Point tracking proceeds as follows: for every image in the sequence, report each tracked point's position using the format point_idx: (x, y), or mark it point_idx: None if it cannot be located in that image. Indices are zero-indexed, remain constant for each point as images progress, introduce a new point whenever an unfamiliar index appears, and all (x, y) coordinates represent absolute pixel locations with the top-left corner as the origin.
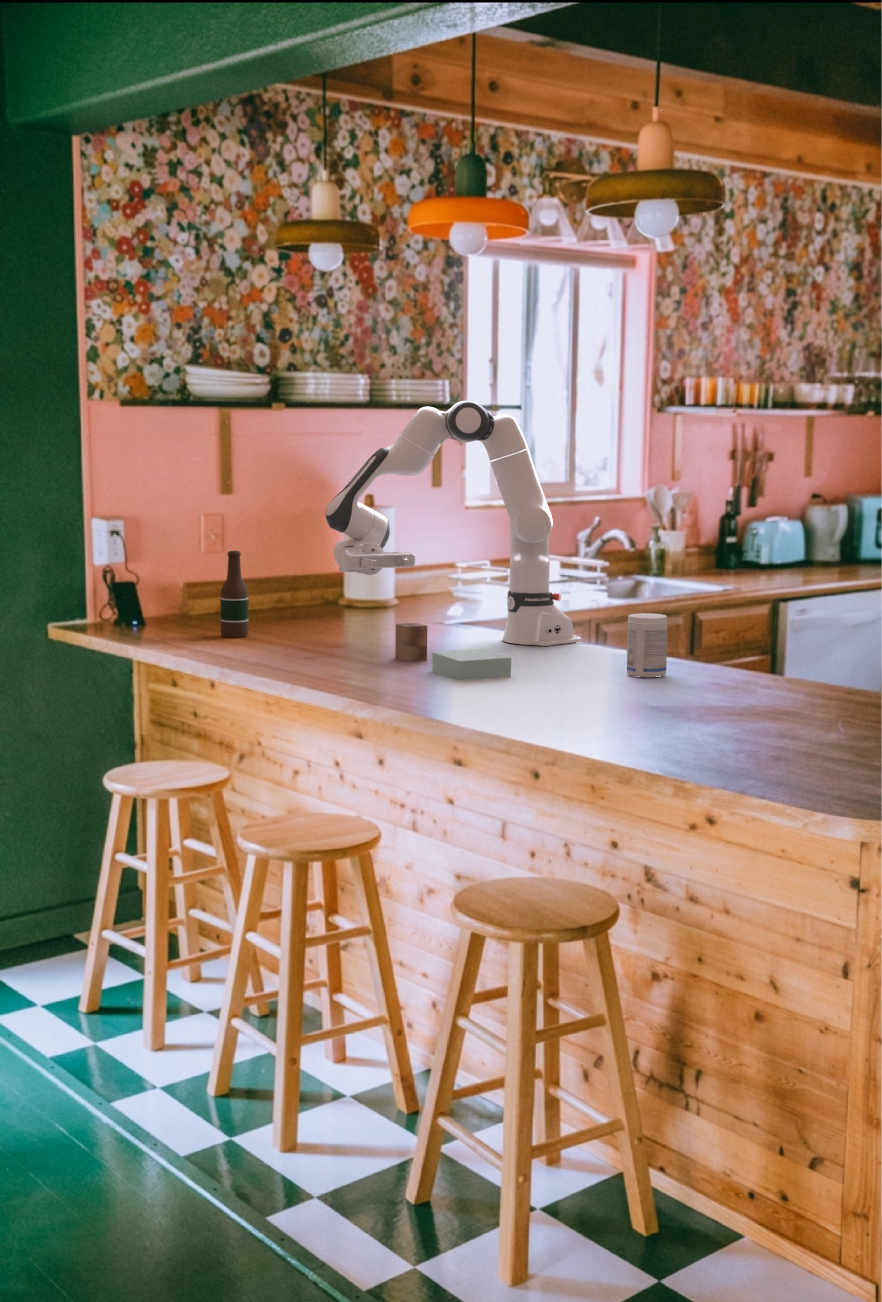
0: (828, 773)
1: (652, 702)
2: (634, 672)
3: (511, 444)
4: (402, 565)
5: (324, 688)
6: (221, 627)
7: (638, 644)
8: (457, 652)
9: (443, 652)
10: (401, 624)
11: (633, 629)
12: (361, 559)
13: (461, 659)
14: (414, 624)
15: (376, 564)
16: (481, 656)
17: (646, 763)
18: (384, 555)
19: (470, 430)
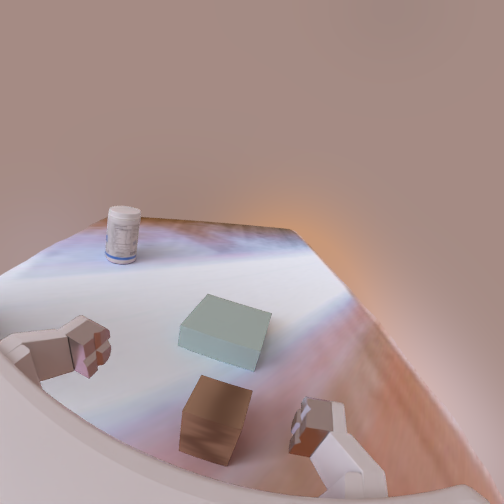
0: (262, 229)
1: (209, 252)
2: (135, 257)
3: None
4: (97, 369)
5: (403, 369)
6: None
7: (138, 233)
8: (232, 333)
9: (248, 342)
10: (237, 415)
11: (138, 223)
12: (382, 488)
13: (263, 315)
14: (211, 398)
15: (299, 411)
16: (229, 310)
17: (304, 248)
18: (120, 442)
19: None
